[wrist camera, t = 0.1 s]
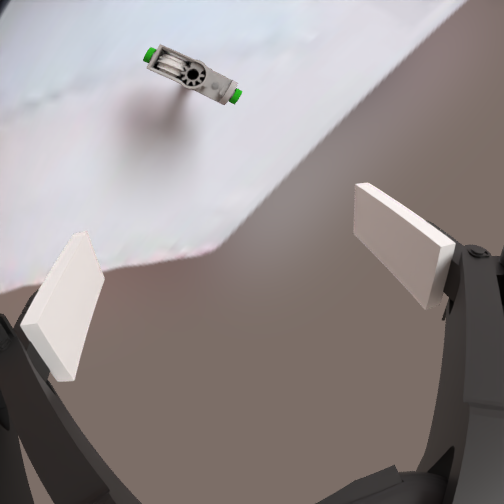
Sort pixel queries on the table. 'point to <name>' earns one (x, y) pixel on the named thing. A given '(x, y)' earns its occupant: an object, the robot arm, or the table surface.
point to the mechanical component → (192, 74)
